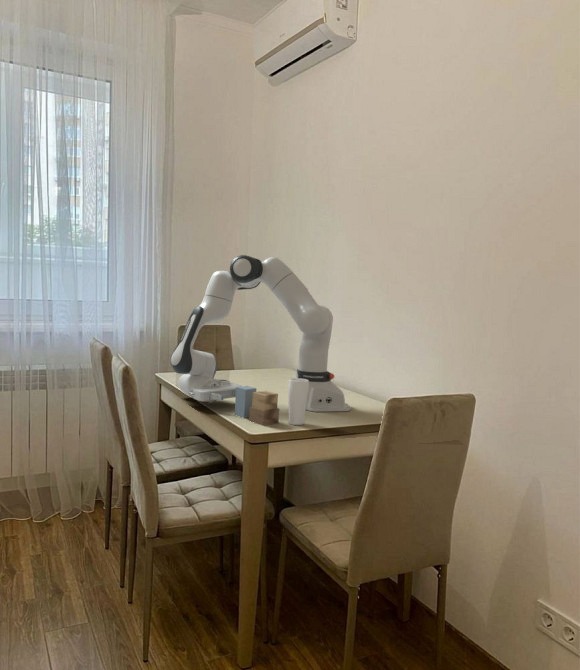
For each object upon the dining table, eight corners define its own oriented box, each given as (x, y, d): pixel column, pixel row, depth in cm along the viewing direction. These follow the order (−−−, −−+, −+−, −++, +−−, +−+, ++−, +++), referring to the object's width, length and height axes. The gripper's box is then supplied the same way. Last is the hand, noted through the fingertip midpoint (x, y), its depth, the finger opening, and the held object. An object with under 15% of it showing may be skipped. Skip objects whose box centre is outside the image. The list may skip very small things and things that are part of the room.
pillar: (245, 413, 206) (247, 385, 205) (254, 416, 203) (256, 388, 202) (234, 415, 203) (236, 387, 202) (243, 418, 199) (245, 389, 198)
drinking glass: (283, 424, 194) (285, 380, 192) (290, 420, 200) (293, 377, 199) (302, 427, 191) (305, 382, 190) (308, 423, 198) (311, 379, 196)
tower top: (264, 405, 199) (265, 390, 199) (277, 408, 195) (278, 393, 195) (251, 407, 195) (252, 392, 195) (264, 410, 191) (265, 395, 191)
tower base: (264, 418, 201) (265, 404, 200) (278, 423, 196) (279, 408, 195) (249, 421, 196) (249, 406, 195) (262, 425, 191) (263, 411, 190)
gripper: (186, 383, 210) (209, 390, 200) (230, 379, 224) (254, 385, 214) (185, 401, 210) (208, 408, 200) (229, 395, 224) (253, 402, 215)
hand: (232, 396), depth 207 cm, fingers open, 8 cm apart
